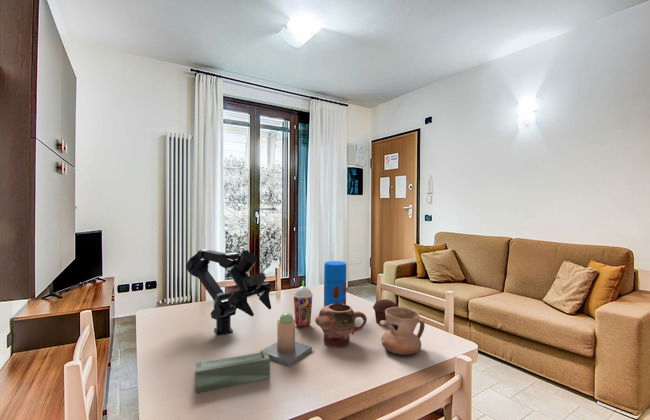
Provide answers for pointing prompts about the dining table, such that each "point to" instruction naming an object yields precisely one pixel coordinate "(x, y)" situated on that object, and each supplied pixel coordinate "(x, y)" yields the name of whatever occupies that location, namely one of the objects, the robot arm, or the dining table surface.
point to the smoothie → (303, 306)
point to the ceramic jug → (402, 331)
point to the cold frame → (232, 371)
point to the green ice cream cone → (286, 333)
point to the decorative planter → (338, 323)
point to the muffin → (382, 309)
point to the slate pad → (288, 357)
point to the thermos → (334, 282)
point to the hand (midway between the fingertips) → (262, 312)
